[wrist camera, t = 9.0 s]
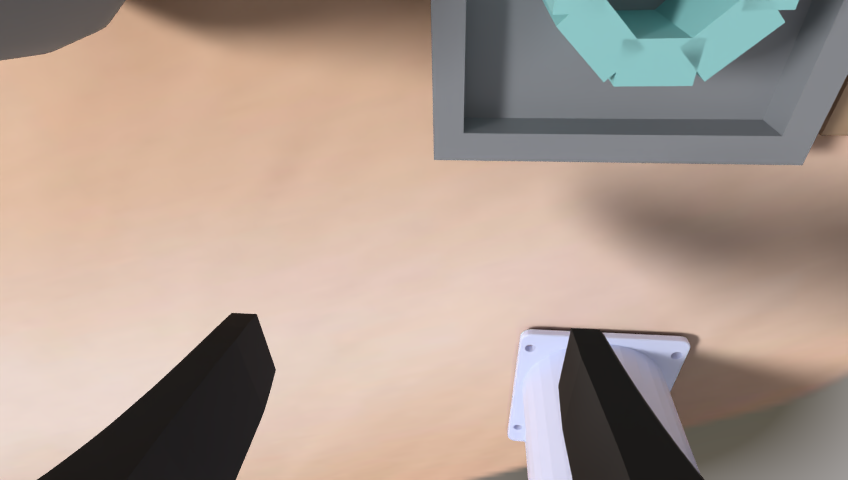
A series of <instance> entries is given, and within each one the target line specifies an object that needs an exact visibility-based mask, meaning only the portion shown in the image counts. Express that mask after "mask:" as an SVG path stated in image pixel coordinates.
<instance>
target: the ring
mask: <svg viewBox="0 0 848 480" xmlns="http://www.w3.org/2000/svg"><path fill="white" fill-rule="evenodd" d="M542 1H543V2H544V4H545V6H546V8H547V10H548V12H549V14H550V16H551V18H552V20H553V22H554V23H555V25H556V27H557V28H558V29H559V30H560V32H561V33H562V34H563V35H564V36H565V38H566V39H567V40H568V41H569V42H570V43H571V45H572V46H573V47H574V48H575V49H576V50H577V52H578V53H579V54H580V55H581V56H582V57H583V59H584V60H585V61H586V62H587V63H588V65H589V66H590V67H591V68H592V69H593V70H594V72H595V73H596V74H597V75H598V76H599V77H600V79H601V80H602V81H603V82H605V81H606V80H607V79H609V80H610V82H611V83H612V85H613V86H614V87H619V86H693V82H694V79H695V76H696V74H697V75H698V76H699V77H700V78H701V79H702V80H703V81H706V80H708V79H709V78H710V77H712V76H713V75H714V74H716V73H717V72H718V71H720V70H721V69H723V68H724V67H725V66H727V65H728V64H729V63H731V62H732V61H733V60H735V59H736V58H737V57H739V56H740V55H742V54H743V53H744V52H746V51H747V50H748V49H750V48H751V47H752V46H754V45H755V44H757V43H758V42H759V41H761V40H762V39H763V38H765V37H766V36H767V35H769V34H770V33H771V32H773V31H774V30H776V29H777V28H778V27H780V26H781V25H782V24H784V23H785V21H784V19H783V18H782V16H781V14H780V13H779V11H778V10H795V9H796V7H797V4H798V2H799V0H665V1H664V2H663V3H662V4H661V5H660V6H658V7H657V8H656V9H655V10H617V11H615V10H614V9H613V7H612V6H611V5H610V4H609V2H608V1H607V0H542Z"/></svg>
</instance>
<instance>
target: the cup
mask: <svg viewBox="0 0 848 480" xmlns="http://www.w3.org/2000/svg"><path fill="white" fill-rule="evenodd" d="M124 2H125V0H0V60H7V59H14V58H20V57H27V56H34V55H41V54H46V53H49V52H53V51H55V50H58V49H60V48H62V47H64V46H66V45H69V44H71V43H73V42H75V41H77V40H80V39H82V38H84V37H86V36H89V35H91V34H93V33H95V32H97V31H99V30H101V29H103V28H105V27H106V26H107V25H108V24H109V23H110V21H111V20H112V19H113V17H114V16H115V14H116V13H117V12H118V10H119V9H120V7H121V6H122V5H123V3H124Z"/></svg>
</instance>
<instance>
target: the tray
mask: <svg viewBox="0 0 848 480" xmlns="http://www.w3.org/2000/svg"><path fill="white" fill-rule="evenodd" d="M607 1H608V2H609V4H610V5H611V6H612V7H613V9H614V10H615V11H617V10H655V9H656V8H657V7H658V6H660V5H661V4H662V3H663V2H664V1H665V0H607ZM778 11H779V13H780V14H781V16H782V18H783V19H784V21H785V23H784V24H782V25H781V26H780V27H778V28H777V29H776V30H774V31H773V32H771V33H770V34H769V35H767V36H766V37H765V38H763V39H762V40H761V41H759V42H758V43H757V44H755V45H754V46H752V47H751V48H750V49H748V50H747V51H746V52H744V53H743V54H742V55H740V56H739V57H737V58H736V59H735V60H733V61H732V62H731V63H729V64H728V65H727V66H725V67H724V68H723V69H721V70H720V71H718V72H717V73H716V74H714V75H713V76H712V77H710V78H709V79H708V80H706V81H703V80H702V79H701V78H700V77H699V76H698V75H697V74H696V76H695V79H694V82H693V86H619V87H614V86H613V85H612V83H611V82H610V80H609V79H607V80H606V81H605V82H603V81H602V80H601V79H600V77H599V76H598V75H597V74H596V73H595V72H594V70H593V69H592V68H591V67H590V66H589V65H588V63H587V62H586V61H585V60H584V59H583V57H582V56H581V55H580V54H579V53H578V52H577V50H576V49H575V48H574V47H573V46H572V45H571V43H570V42H569V41H568V40H567V39H566V38H565V36H564V35H563V34H562V33H561V32H560V30H559V29H558V28H557V27H556V25H555V23H554V22H553V20H552V18H551V16H550V14H549V12H548V10H547V8H546V6H545V4H544V2H543V1H542V0H431V33H432V82H433V131H434V160H481V161H550V162H620V163H689V164H758V165H803V163H804V161H805V159H806V157H807V155H808V153H809V151H810V149H811V147H812V145H813V143H814V141H815V139H816V137H817V135H818V133H819V131H820V129H821V127H822V125H823V123H824V121H825V119H826V117H827V115H828V113H829V111H830V109H831V107H832V105H833V103H834V101H835V99H836V97H837V95H838V93H839V91H840V89H841V87H842V85H843V83H844V81H845V79H846V77H847V75H848V0H799V2H798V4H797V7H796V9H795V10H778Z"/></svg>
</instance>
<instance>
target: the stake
mask: <svg viewBox="0 0 848 480" xmlns="http://www.w3.org/2000/svg"><path fill="white" fill-rule="evenodd" d="M819 134H820V135H839V136H848V75H847V77H846V79H845V81H844V83H843V85H842V87H841V89H840V91H839V93H838V95H837V97H836V99H835V101H834V103H833V105H832V107H831V109H830V111H829V113H828V115H827V117H826V119H825V121H824V123H823V125H822V127H821V129H820V131H819Z"/></svg>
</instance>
